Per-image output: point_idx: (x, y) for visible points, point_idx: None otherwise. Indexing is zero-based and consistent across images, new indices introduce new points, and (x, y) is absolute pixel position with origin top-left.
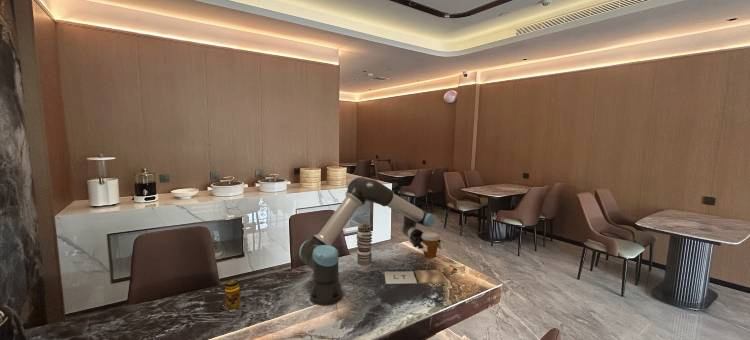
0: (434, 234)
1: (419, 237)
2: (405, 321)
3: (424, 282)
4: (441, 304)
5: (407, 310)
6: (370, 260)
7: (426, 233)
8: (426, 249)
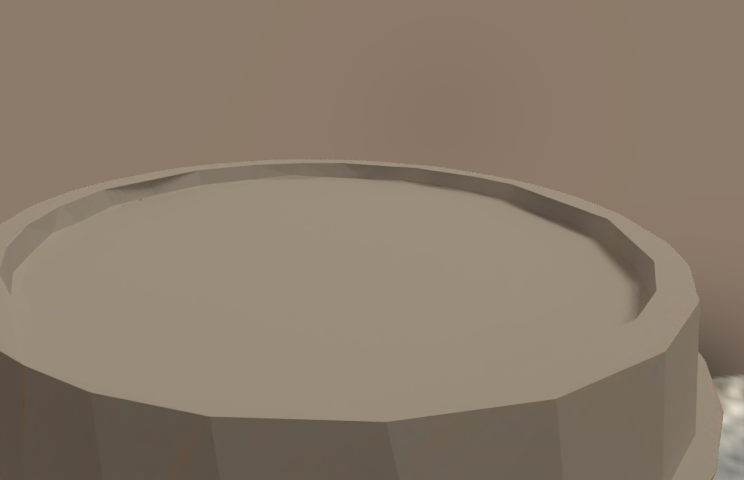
0: (156, 231)
1: None
2: (731, 392)
3: None
4: None
5: (727, 446)
6: None
7: (346, 377)
8: None
